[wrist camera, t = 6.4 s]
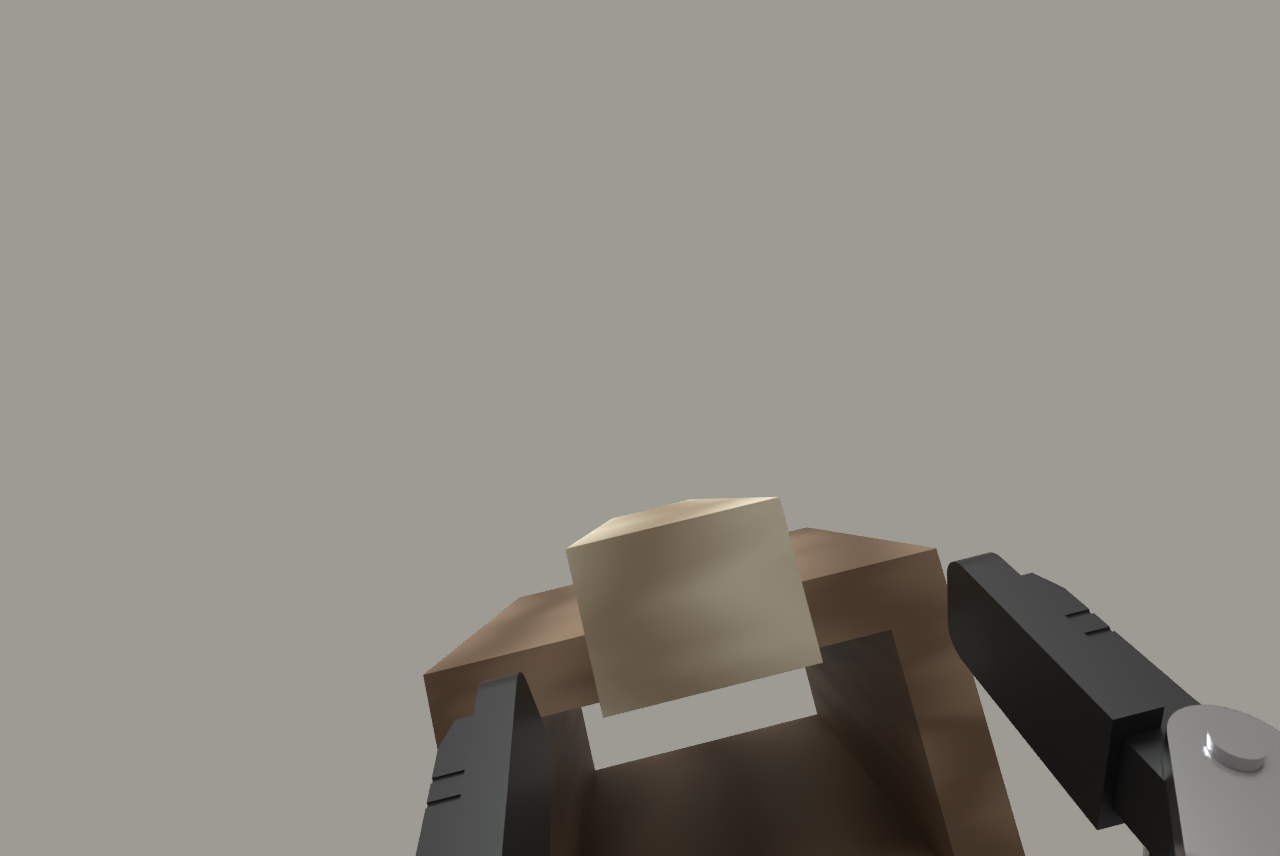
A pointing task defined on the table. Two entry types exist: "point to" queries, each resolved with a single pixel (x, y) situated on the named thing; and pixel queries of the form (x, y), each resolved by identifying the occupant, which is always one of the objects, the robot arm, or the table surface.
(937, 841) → the walnut rack
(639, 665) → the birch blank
